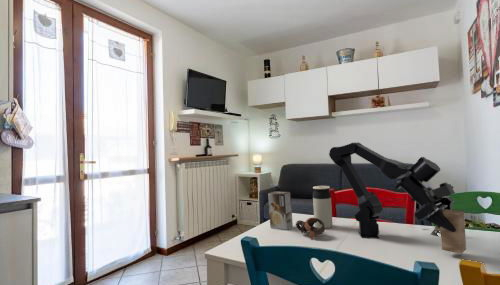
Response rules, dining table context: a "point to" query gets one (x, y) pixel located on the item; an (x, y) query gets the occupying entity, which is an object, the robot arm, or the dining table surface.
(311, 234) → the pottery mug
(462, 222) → the walnut block
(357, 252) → the dining table surface
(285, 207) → the coffee box
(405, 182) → the robot arm
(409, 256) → the dining table surface
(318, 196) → the travel mug
